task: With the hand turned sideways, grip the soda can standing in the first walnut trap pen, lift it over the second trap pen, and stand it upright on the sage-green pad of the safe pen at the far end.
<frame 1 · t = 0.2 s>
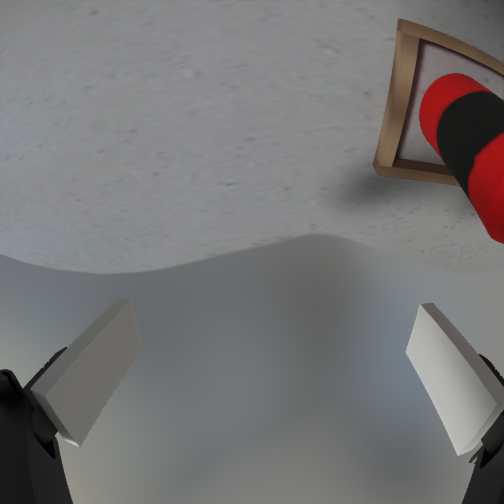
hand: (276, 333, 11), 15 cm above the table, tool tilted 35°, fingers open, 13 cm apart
soda can: (453, 111, 16), resting in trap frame
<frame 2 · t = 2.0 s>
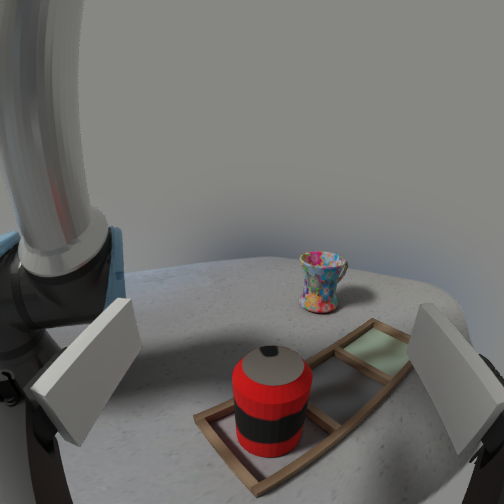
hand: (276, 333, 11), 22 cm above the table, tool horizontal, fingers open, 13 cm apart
mug: (323, 304, 58), on the table
soda can: (268, 434, 28), resting in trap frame
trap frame: (336, 389, 34), on the table
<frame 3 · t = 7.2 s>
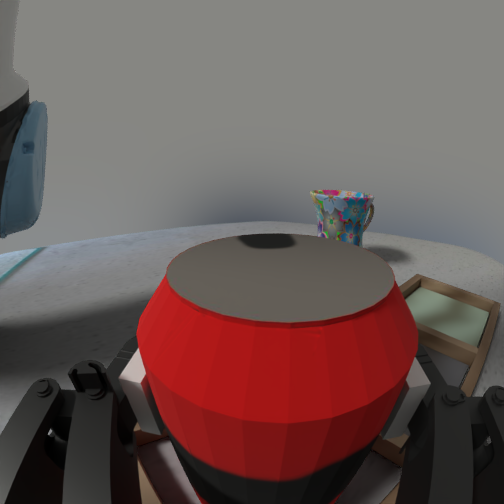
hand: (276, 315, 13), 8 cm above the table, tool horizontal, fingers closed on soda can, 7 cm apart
mug: (343, 263, 41), on the table
soda can: (268, 479, 11), resting in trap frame, touching gripper
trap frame: (393, 377, 17), on the table
when the fingers open (9 cm above the table, at t = 12.8 s): soda can drops 1 cm, resting on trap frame.
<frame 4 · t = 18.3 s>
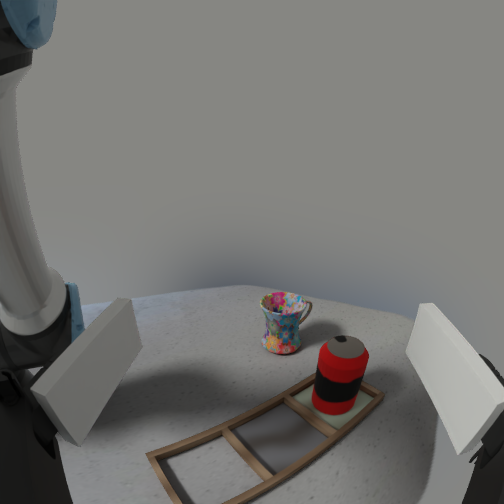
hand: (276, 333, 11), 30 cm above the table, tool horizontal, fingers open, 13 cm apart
mug: (286, 343, 58), on the table
soda can: (332, 401, 41), resting on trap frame
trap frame: (278, 438, 34), on the table
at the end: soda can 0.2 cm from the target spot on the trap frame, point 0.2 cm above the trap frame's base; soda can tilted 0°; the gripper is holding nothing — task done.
